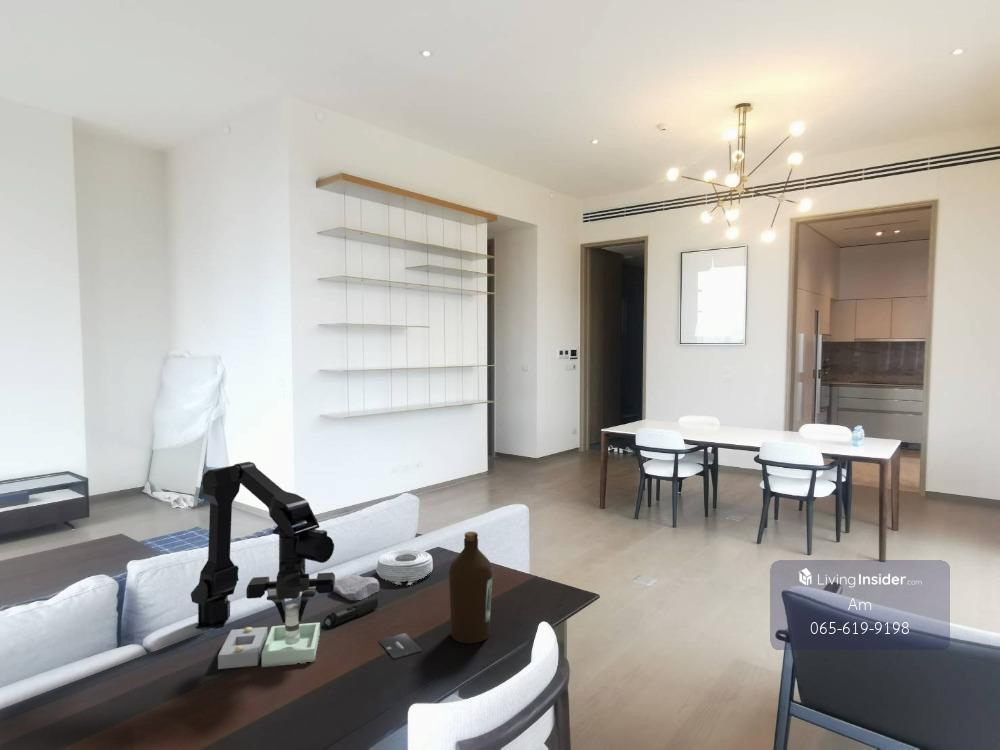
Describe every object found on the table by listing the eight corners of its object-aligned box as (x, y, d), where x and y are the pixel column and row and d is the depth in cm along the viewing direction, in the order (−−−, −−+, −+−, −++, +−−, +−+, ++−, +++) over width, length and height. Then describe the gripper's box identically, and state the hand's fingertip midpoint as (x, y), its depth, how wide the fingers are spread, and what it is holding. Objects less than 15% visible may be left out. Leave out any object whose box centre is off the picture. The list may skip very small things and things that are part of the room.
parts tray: (261, 667, 126) (261, 653, 126) (271, 638, 139) (271, 626, 139) (314, 662, 128) (314, 648, 128) (319, 634, 141) (319, 622, 141)
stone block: (358, 609, 160) (383, 590, 168) (355, 594, 159) (380, 575, 167) (328, 601, 166) (353, 583, 174) (325, 586, 165) (350, 568, 173)
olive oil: (447, 645, 136) (448, 540, 136) (449, 624, 147) (450, 527, 146) (492, 645, 137) (493, 540, 136) (491, 624, 147) (492, 527, 147)
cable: (405, 590, 169) (405, 569, 169) (363, 577, 179) (363, 557, 179) (443, 572, 184) (444, 553, 183) (403, 560, 193) (403, 543, 193)
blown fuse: (283, 645, 132) (283, 610, 131) (285, 638, 135) (285, 604, 134) (298, 643, 132) (298, 609, 132) (300, 637, 135) (300, 603, 135)
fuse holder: (218, 669, 125) (218, 652, 125) (231, 642, 137) (231, 627, 137) (257, 665, 127) (257, 649, 127) (267, 639, 139) (267, 624, 138)
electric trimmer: (381, 611, 156) (381, 599, 155) (330, 630, 144) (330, 617, 144) (372, 607, 158) (373, 595, 158) (322, 625, 146) (322, 613, 146)
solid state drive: (393, 661, 130) (393, 658, 130) (377, 642, 138) (377, 640, 138) (422, 653, 134) (422, 650, 134) (405, 635, 142) (405, 632, 142)
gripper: (240, 570, 123) (240, 642, 124) (332, 564, 127) (331, 634, 128) (251, 552, 134) (251, 619, 134) (335, 547, 138) (335, 612, 138)
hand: (292, 621), depth 133 cm, fingers closed on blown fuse, 3 cm apart
